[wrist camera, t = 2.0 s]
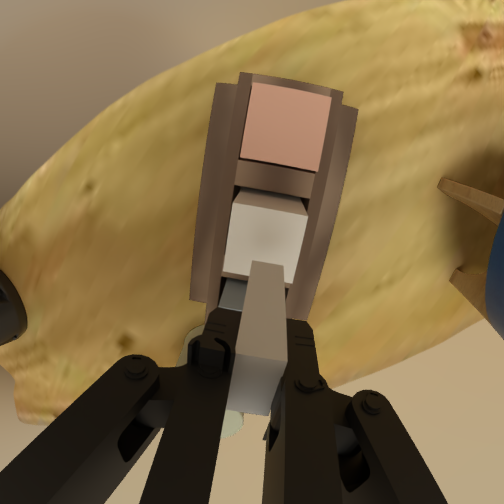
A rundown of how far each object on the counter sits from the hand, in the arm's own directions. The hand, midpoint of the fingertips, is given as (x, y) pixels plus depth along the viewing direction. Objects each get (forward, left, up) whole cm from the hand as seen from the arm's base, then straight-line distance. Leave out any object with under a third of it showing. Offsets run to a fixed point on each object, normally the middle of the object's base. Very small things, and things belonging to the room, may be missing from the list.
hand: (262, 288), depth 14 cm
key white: (0, 0, -13) cm, 13 cm away
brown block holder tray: (0, 0, -17) cm, 17 cm away
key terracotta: (0, +8, -13) cm, 15 cm away
